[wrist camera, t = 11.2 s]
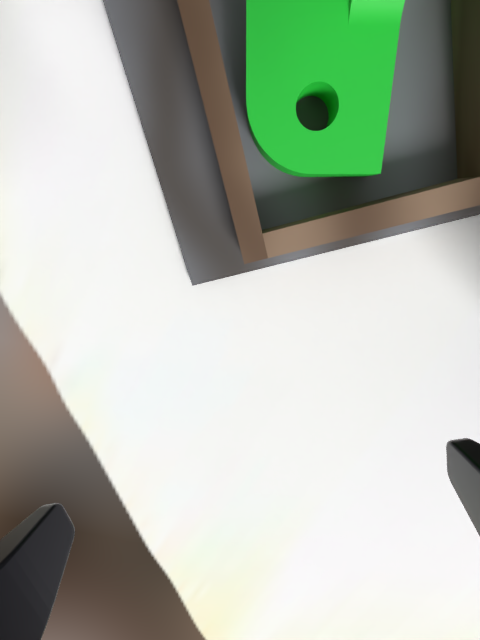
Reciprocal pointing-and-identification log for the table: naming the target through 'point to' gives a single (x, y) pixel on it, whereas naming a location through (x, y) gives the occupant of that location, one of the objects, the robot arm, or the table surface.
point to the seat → (305, 192)
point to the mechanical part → (321, 82)
